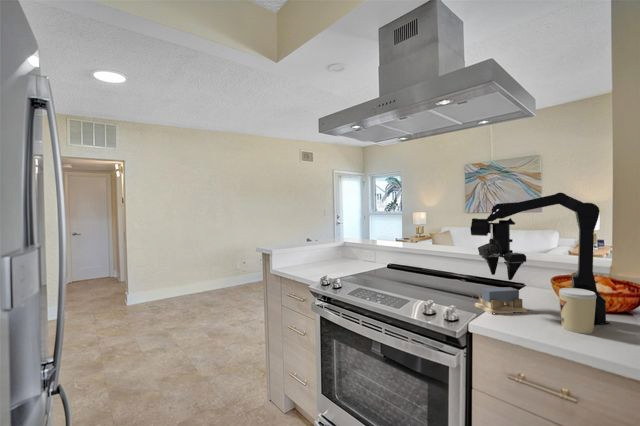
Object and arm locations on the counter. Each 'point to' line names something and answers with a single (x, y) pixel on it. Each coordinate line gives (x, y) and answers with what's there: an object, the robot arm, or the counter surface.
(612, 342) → the counter surface
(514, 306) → the display stand
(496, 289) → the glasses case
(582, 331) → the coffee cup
